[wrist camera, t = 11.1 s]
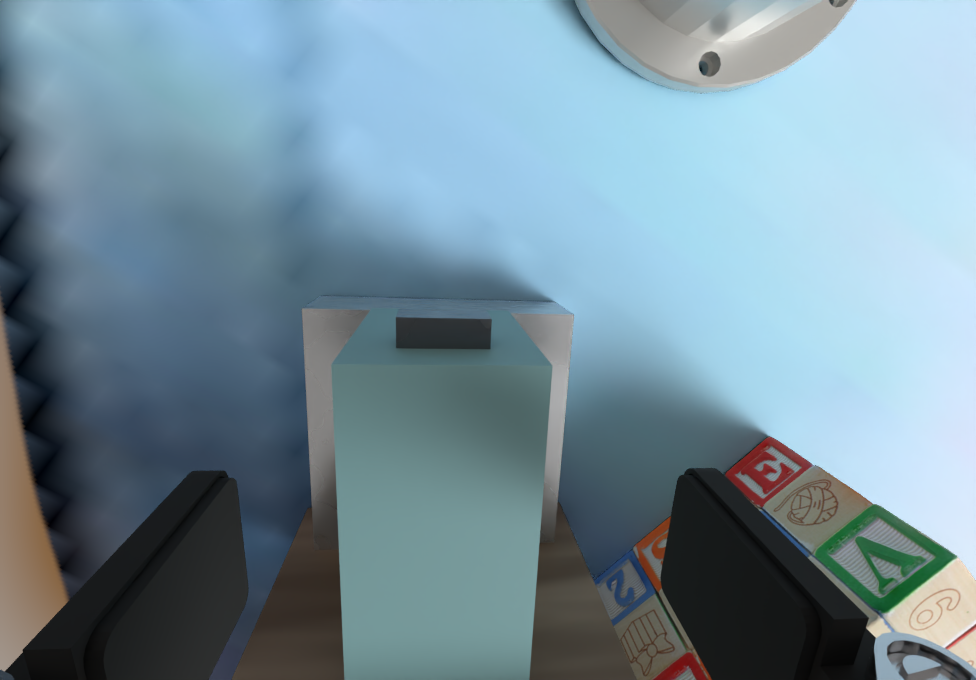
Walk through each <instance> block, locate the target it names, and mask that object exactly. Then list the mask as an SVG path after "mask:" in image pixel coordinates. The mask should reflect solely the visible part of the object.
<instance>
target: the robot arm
mask: <svg viewBox="0 0 976 680" xmlns="http://www.w3.org/2000/svg"><path fill="white" fill-rule="evenodd" d="M856 1H857V0H575V3H576V5H577V7H578V9H579V11H580V14H581V15H582V17H583V18H584V20H585V21H586V23H587V24H588V26H589V27H590V28H591V30H592V31H593V33H594V34H595V36H596V37H597V39H598V40H599V42H600V43H601V44H602V45H603V46H604V47H605V48H606V49H607V50H608V51H609V52H611V53H612V54H613V55H614V56H615V57H616V58H617V59H618V60H619V61H620V62H621V63H622V64H623V65H625V66H626V67H628V68H629V69H631V70H632V71H634V72H636V73H637V74H639V75H640V76H642V77H643V78H645V79H646V80H649V81H651V82H654V83H657V84H659V85H662V86H665V87H667V88H670V89H673V90H679V91H686V92H694V93H701V94H702V93H714V92H725V91H732V90H735V89H738V88H741V87H745V86H748V85H751V84H755V83H758V82H760V81H762V80H764V79H766V78H768V77H770V76H773V75H775V74H777V73H779V72H782V71H784V70H786V69H787V68H789V67H790V66H792V65H793V64H795V63H796V62H798V61H799V60H801V59H802V58H804V57H805V56H807V55H808V54H810V53H811V52H812V51H813V50H814V49H815V48H816V47H817V46H818V45H819V44H820V43H821V42H822V41H824V40H825V39H826V38H827V37H828V36H829V35H830V34H831V33H832V32H833V31H834V30H835V29H836V28H837V26H838V25H839V24H840V22H841V21H842V20H843V19H844V17H845V16H846V15H847V14H848V12H849V11H850V10H851V8H852V7H853V5H854V4H855V2H856ZM699 66H701V68H702V73H701V72H700V70H699ZM660 578H661V586H662V590H663V593H664V595H665V597H666V598H667V600H668V602H669V604H670V606H671V607H672V609H673V611H674V613H675V615H676V616H677V618H678V620H679V622H680V624H681V625H682V627H683V629H684V631H685V632H686V634H687V636H688V638H689V640H690V641H691V643H692V645H693V647H694V649H695V650H696V652H697V654H698V656H699V658H700V659H701V661H702V663H703V665H704V666H705V668H706V670H707V672H708V674H709V675H710V677H711V679H712V680H976V669H975V668H974V667H972V666H971V665H970V664H969V663H968V662H966V661H965V660H963V659H962V658H960V657H959V656H957V655H955V654H954V653H952V652H951V651H949V650H948V649H946V648H944V647H941V646H939V645H937V644H935V643H933V642H931V641H929V640H927V639H923V638H920V637H917V636H914V635H911V634H906V633H899V632H889V633H883V634H881V635H880V636H879V637H877V638H876V637H875V636H874V635H873V634H872V633H871V632H870V631H869V630H868V629H867V628H866V626H867V623H868V620H869V617H868V616H867V615H866V614H865V613H864V612H863V611H862V610H860V609H859V608H858V607H857V606H856V605H855V604H854V603H853V602H852V601H851V600H850V599H849V598H848V597H847V596H846V595H845V594H844V593H843V592H842V591H841V590H840V589H839V588H838V587H837V586H836V585H835V584H834V583H833V582H832V581H831V580H830V579H829V578H828V577H827V576H826V575H825V574H824V573H823V572H822V571H821V570H820V569H819V568H818V567H817V566H816V565H815V564H814V563H813V562H812V561H810V560H809V559H808V558H807V557H806V556H805V555H804V554H803V553H802V552H801V551H800V550H799V549H798V548H797V547H796V546H795V545H794V544H793V543H792V542H791V541H790V540H789V539H788V538H787V537H786V536H785V535H784V534H783V533H782V532H781V531H780V530H779V529H778V528H777V527H776V526H775V525H774V524H773V523H772V522H771V521H770V520H769V519H768V518H767V517H766V516H765V515H764V514H763V513H762V512H760V511H759V510H758V509H757V508H756V507H755V506H754V505H753V504H752V503H751V502H750V501H749V500H748V499H747V498H746V497H745V496H744V495H743V494H742V493H741V492H740V491H739V490H738V489H737V488H736V487H735V486H734V485H733V484H732V483H731V482H730V481H729V480H728V479H727V478H726V477H725V476H724V475H723V474H722V473H721V472H720V471H718V470H717V469H715V468H689V469H687V470H686V472H685V474H684V475H681V476H679V478H678V480H677V485H676V490H675V496H674V502H673V507H672V513H671V519H670V524H669V530H668V536H667V541H666V547H665V553H664V558H663V564H662V570H661V577H660ZM247 596H248V579H247V570H246V561H245V552H244V543H243V534H242V525H241V516H240V507H239V498H238V489H237V483H236V480H235V479H234V478H228V475H227V473H226V472H225V471H192V472H191V473H190V474H188V475H187V477H186V478H185V479H184V480H183V481H182V482H181V483H180V484H179V485H178V486H177V487H176V488H175V489H174V490H173V491H172V492H171V493H170V495H169V496H168V497H167V498H166V499H165V500H164V501H163V502H162V503H161V504H160V505H159V506H158V507H157V508H156V509H155V510H154V511H153V513H152V514H151V515H150V516H149V517H148V518H147V519H146V520H145V521H144V522H143V523H142V524H141V525H140V526H139V527H138V528H137V529H136V530H135V532H134V533H133V534H132V535H131V536H130V537H129V538H128V539H127V540H126V541H125V542H124V543H123V544H122V545H121V546H120V547H119V548H118V550H117V551H116V552H115V553H114V554H113V555H112V556H111V557H110V558H109V559H108V560H107V561H106V562H105V563H104V564H103V565H102V566H101V568H100V569H99V570H98V571H97V572H96V573H95V574H94V575H93V576H92V577H91V578H90V579H89V580H88V581H87V582H86V583H85V584H84V586H83V587H82V588H81V589H80V590H79V591H78V592H77V593H76V594H75V595H74V596H73V597H72V598H71V599H70V600H69V601H68V602H67V603H66V605H65V606H64V607H63V608H62V609H61V610H60V611H59V612H58V613H57V614H56V615H55V616H54V617H53V618H52V619H51V620H50V622H49V623H48V624H47V625H46V626H45V627H44V628H43V629H42V630H41V631H40V632H39V633H38V634H37V635H36V636H35V638H34V639H32V641H31V642H30V643H29V644H28V645H27V646H26V647H25V648H24V649H23V653H22V654H21V655H20V656H19V657H18V658H17V659H16V660H15V661H14V663H13V664H12V665H11V666H10V667H9V668H8V669H7V670H6V671H2V670H0V680H208V679H209V677H210V675H211V673H212V671H213V669H214V667H215V665H216V663H217V661H218V659H219V657H220V655H221V653H222V651H223V649H224V647H225V645H226V643H227V641H228V639H229V637H230V635H231V633H232V631H233V629H234V627H235V625H236V623H237V621H238V619H239V617H240V615H241V613H242V611H243V609H244V607H245V604H246V601H247Z"/></svg>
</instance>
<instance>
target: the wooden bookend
mask: <svg viewBox="0 0 976 680" xmlns="http://www.w3.org/2000/svg"><path fill="white" fill-rule="evenodd" d="M372 308H397V309H449V310H502V311H509V312H510V313H511V315H512V316H513V317H514V318H515V320H516V321H517V322H518V323H519V325H520V326H521V327H522V328H523V329H524V331H525V332H526V333H527V334H528V336H529V337H530V338H531V339H532V341H533V342H534V343H535V344H536V346H537V347H538V348H539V349H540V351H541V352H542V353H543V354H544V356H545V357H546V358H547V359H548V361H549V362H550V363H551V364H552V365H553V368H552V381H551V394H550V408H549V421H548V435H547V448H546V462H545V475H544V488H543V502H542V515H541V529H540V542H539V555H538V569H537V582H536V596H535V609H534V622H533V636H532V649H531V663H530V676H529V680H637V679H636V676H635V674H634V672H633V669H632V667H631V665H630V663H629V660H628V658H627V656H626V653H625V651H624V649H623V647H622V644H621V642H620V640H619V638H618V635H617V633H616V631H615V628H614V626H613V624H612V622H611V619H610V617H609V615H608V612H607V610H606V608H605V606H604V603H603V601H602V599H601V596H600V594H599V592H598V590H597V587H596V585H595V583H594V581H593V578H592V576H591V574H590V571H589V569H588V567H587V565H586V562H585V560H584V558H583V555H582V553H581V551H580V549H579V546H578V544H577V542H576V539H575V537H574V535H573V533H572V530H571V528H570V526H569V523H568V521H567V519H566V517H565V514H564V512H563V510H562V508H561V505H560V503H559V502H558V491H559V480H560V469H561V457H562V446H563V435H564V423H565V412H566V401H567V389H568V378H569V367H570V355H571V344H572V333H573V321H574V314H572V313H571V312H569V311H568V310H566V309H565V308H563V307H562V306H561V305H559V304H558V303H556V302H545V301H507V300H469V299H431V298H393V297H354V296H320V297H318V298H317V299H315V300H314V301H312V302H311V303H309V304H308V305H306V306H305V307H303V308H302V322H303V342H304V361H305V381H306V401H307V420H308V440H309V459H310V479H311V499H312V508H308V509H307V511H306V513H305V515H304V518H303V520H302V522H301V524H300V527H299V529H298V531H297V533H296V536H295V538H294V540H293V542H292V545H291V547H290V549H289V551H288V554H287V556H286V558H285V560H284V563H283V565H282V567H281V569H280V572H279V574H278V576H277V578H276V581H275V583H274V585H273V587H272V590H271V592H270V594H269V596H268V599H267V601H266V603H265V605H264V608H263V610H262V612H261V614H260V617H259V619H258V621H257V623H256V626H255V628H254V630H253V632H252V635H251V637H250V639H249V641H248V644H247V646H246V648H245V650H244V653H243V655H242V657H241V659H240V662H239V664H238V666H237V668H236V671H235V673H234V675H233V677H232V680H344V657H343V634H342V610H341V586H340V562H339V539H338V515H337V491H336V467H335V443H334V420H333V396H332V372H331V364H332V363H333V361H334V360H335V358H336V357H337V356H338V354H339V353H340V351H341V350H342V349H343V347H344V346H345V345H346V343H347V342H348V340H349V339H350V338H351V336H352V335H353V334H354V332H355V331H356V329H357V328H358V327H359V325H360V324H361V323H362V321H363V320H364V318H365V317H366V316H367V314H368V313H369V312H370V310H371V309H372Z"/></svg>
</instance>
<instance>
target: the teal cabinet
mask: <svg viewBox="0 0 976 680" xmlns="http://www.w3.org/2000/svg"><path fill="white" fill-rule="evenodd" d="M552 368H553V365H552V364H551V363H550V362H549V361H548V359H547V358H546V357H545V356H544V354H543V353H542V352H541V351H540V349H539V348H538V347H537V346H536V344H535V343H534V342H533V341H532V339H531V338H530V337H529V336H528V334H527V333H526V332H525V331H524V329H523V328H522V327H521V326H520V325H519V323H518V322H517V321H516V320H515V318H514V317H513V316H512V315H511V313H510V312H509V311H502V310H449V309H397V308H372V309H371V310H370V312H369V313H368V314H367V316H366V317H365V318H364V320H363V321H362V323H361V324H360V325H359V327H358V328H357V329H356V331H355V332H354V334H353V335H352V336H351V338H350V339H349V340H348V342H347V343H346V345H345V346H344V347H343V349H342V350H341V351H340V353H339V354H338V356H337V357H336V358H335V360H334V361H333V363H332V364H331V372H332V396H333V420H334V443H335V467H336V491H337V515H338V539H339V562H340V586H341V610H342V634H343V657H344V680H529V676H530V663H531V649H532V636H533V622H534V609H535V596H536V582H537V569H538V555H539V542H540V529H541V515H542V502H543V488H544V475H545V462H546V448H547V435H548V421H549V408H550V394H551V381H552Z"/></svg>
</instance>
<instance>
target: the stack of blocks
mask: <svg viewBox="0 0 976 680" xmlns="http://www.w3.org/2000/svg"><path fill="white" fill-rule="evenodd" d="M724 476H725V477H726V478H727V479H728V480H729V481H730V482H731V483H732V484H733V485H734V486H735V487H736V488H737V489H738V490H739V491H740V492H741V493H742V494H743V495H744V496H745V497H746V498H747V499H748V500H749V501H750V502H751V503H752V504H753V505H754V506H755V507H756V508H757V509H758V510H759V511H760V512H762V513H763V514H764V515H765V516H766V517H767V518H768V519H769V520H770V521H771V522H772V523H773V524H774V525H775V526H776V527H777V528H778V529H779V530H780V531H781V532H782V533H783V534H784V535H785V536H786V537H787V538H788V539H789V540H790V541H791V542H792V543H793V544H794V545H795V546H796V547H797V548H798V549H799V550H800V551H801V552H802V553H803V554H804V555H805V556H806V557H807V558H808V559H809V560H810V561H812V562H813V563H814V564H815V565H816V566H817V567H818V568H819V569H820V570H821V571H822V572H823V573H824V574H825V575H826V576H827V577H828V578H829V579H830V580H831V581H832V582H833V583H834V584H835V585H836V586H837V587H838V588H839V589H840V590H841V591H842V592H843V593H844V594H845V595H846V596H847V597H848V598H849V599H850V600H851V601H852V602H853V603H854V604H855V605H856V606H857V607H858V608H859V609H860V610H862V611H863V612H864V613H865V614H866V615H867V616H868V617H869V620H868V623H867V626H866V628H867V629H868V630H869V631H870V632H871V633H872V634H873V635H874V636H875V637H876V638H877V637H879V636H880V635H881V634H883V633H889V632H899V633H906V634H911V635H914V636H917V637H920V638H923V639H927V640H929V641H931V642H933V643H935V644H937V645H939V646H941V647H944V648H946V649H948V650H949V651H951V652H952V653H954V654H955V655H957V656H959V657H960V658H962V659H963V660H965V661H966V662H968V663H969V664H970V665H971V666H972V667H974V668H975V669H976V580H975V579H974V578H973V576H972V575H971V573H970V572H969V571H968V570H967V568H966V567H965V565H964V564H963V563H962V561H961V560H960V559H959V558H958V557H957V556H956V555H955V554H953V553H952V552H950V551H949V550H948V549H946V548H944V547H943V546H941V545H940V544H938V543H937V542H935V541H934V540H932V539H931V538H929V537H928V536H926V535H925V534H923V533H921V532H920V531H918V530H917V529H915V528H914V527H912V526H910V525H909V524H907V523H906V522H904V521H903V520H901V519H899V518H898V517H896V516H895V515H893V514H892V513H890V512H889V511H887V510H886V509H884V508H883V507H881V506H879V505H877V504H872V503H871V502H870V501H868V500H867V499H866V498H864V497H863V496H862V495H860V494H859V493H857V492H856V491H855V490H853V489H852V488H850V487H849V486H847V485H845V484H844V483H842V482H841V481H839V480H838V479H836V478H835V477H833V476H832V475H830V474H829V473H827V472H826V471H825V470H823V469H822V468H820V467H818V466H816V465H812V464H811V463H810V462H809V461H807V460H806V459H804V458H803V457H801V456H800V455H799V454H797V453H796V452H794V451H793V450H791V449H790V448H788V447H787V446H785V445H784V444H782V443H781V442H779V441H778V440H776V439H774V438H772V437H770V436H769V437H767V438H766V439H765V440H764V441H763V442H761V443H760V444H759V445H758V446H757V447H755V448H754V449H753V450H752V451H751V452H750V453H749V454H747V455H746V456H745V457H744V458H743V459H741V460H740V461H739V462H738V463H737V464H735V465H734V466H733V467H732V468H731V469H730V470H728V471H727V472H726V474H725V475H724ZM670 519H671V516H670V517H669V518H668V519H666V520H665V521H664V522H663V523H662V524H660V525H659V526H658V527H657V528H655V529H654V530H653V531H652V532H650V533H649V534H648V535H647V536H645V537H644V538H643V539H642V540H641V541H640V542H638V543H637V544H636V545H635V546H634V547H633V550H631V551H629V552H628V553H627V554H625V555H624V556H623V557H622V558H621V559H619V560H618V561H617V562H616V563H615V564H613V565H612V566H611V567H610V568H609V569H608V570H606V571H605V572H604V573H603V574H601V575H600V576H599V577H598V578H597V579H595V580H594V583H595V585H596V587H597V590H598V592H599V594H600V596H601V599H602V601H603V603H604V606H605V608H606V610H607V612H608V615H609V617H610V619H611V622H612V624H613V626H614V628H615V631H616V633H617V635H618V638H619V640H620V642H621V644H622V647H623V649H624V651H625V653H626V656H627V658H628V660H629V663H630V665H631V667H632V669H633V672H634V674H635V676H636V679H637V680H712V679H711V677H710V675H709V674H708V672H707V670H706V668H705V666H704V665H703V663H702V661H701V659H700V658H699V656H698V654H697V652H696V650H695V649H694V647H693V645H692V643H691V641H690V640H689V638H688V636H687V634H686V632H685V631H684V629H683V627H682V625H681V624H680V622H679V620H678V618H677V616H676V615H675V613H674V611H673V609H672V607H671V606H670V604H669V602H668V600H667V598H666V597H665V595H664V593H663V590H662V586H661V578H660V577H661V570H662V564H663V558H664V553H665V547H666V541H667V536H668V530H669V524H670Z"/></svg>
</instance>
